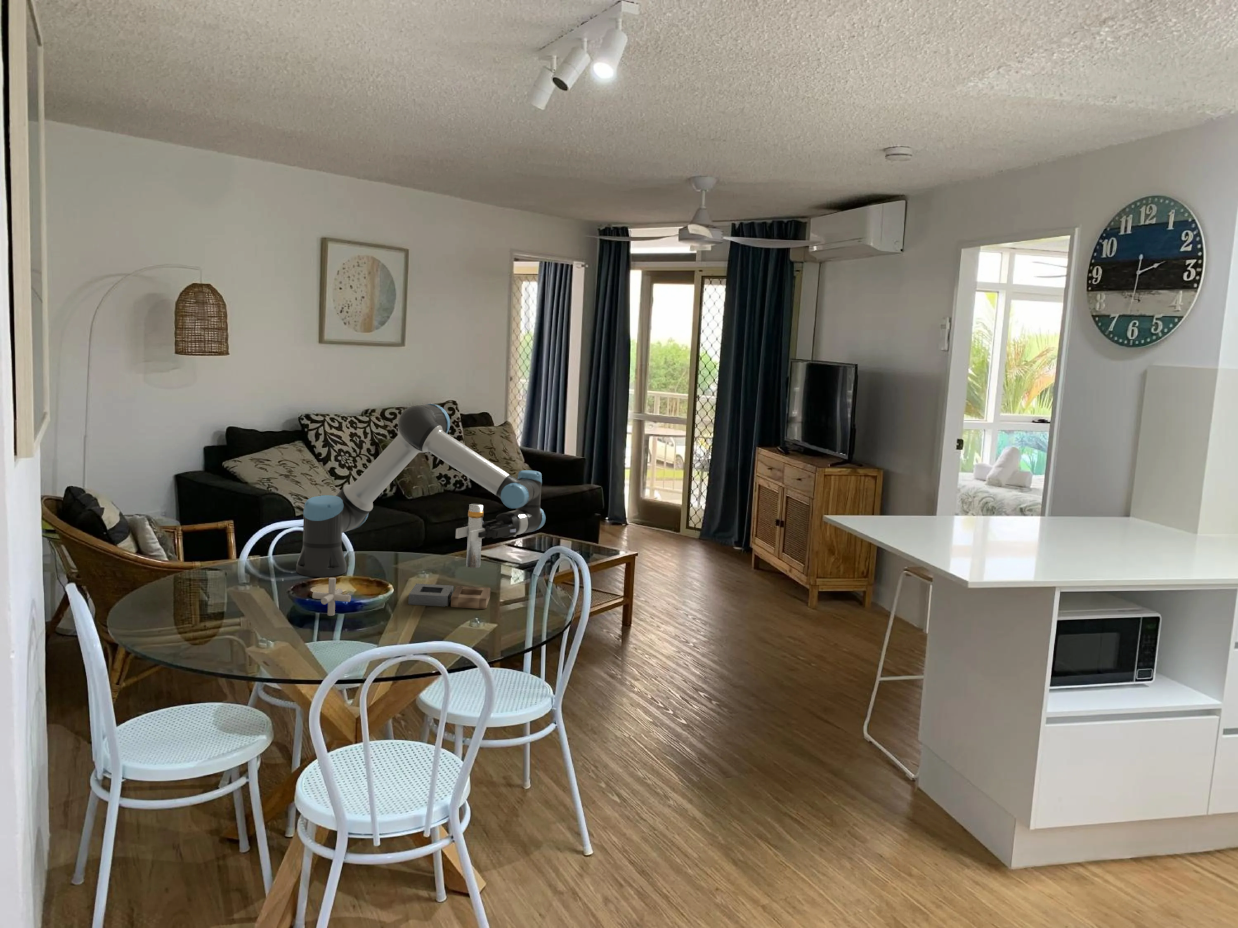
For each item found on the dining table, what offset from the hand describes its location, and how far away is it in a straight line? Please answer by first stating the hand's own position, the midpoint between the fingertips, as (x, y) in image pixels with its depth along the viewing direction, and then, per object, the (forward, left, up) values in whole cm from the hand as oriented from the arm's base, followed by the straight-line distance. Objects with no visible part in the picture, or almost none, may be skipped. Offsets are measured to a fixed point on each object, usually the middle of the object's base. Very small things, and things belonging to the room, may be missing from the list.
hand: (463, 534), depth 260 cm
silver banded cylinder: (+3, +5, -10) cm, 11 cm away
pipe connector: (-32, -15, -21) cm, 42 cm away
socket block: (-9, +5, -21) cm, 23 cm away
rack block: (+3, +5, -21) cm, 21 cm away
